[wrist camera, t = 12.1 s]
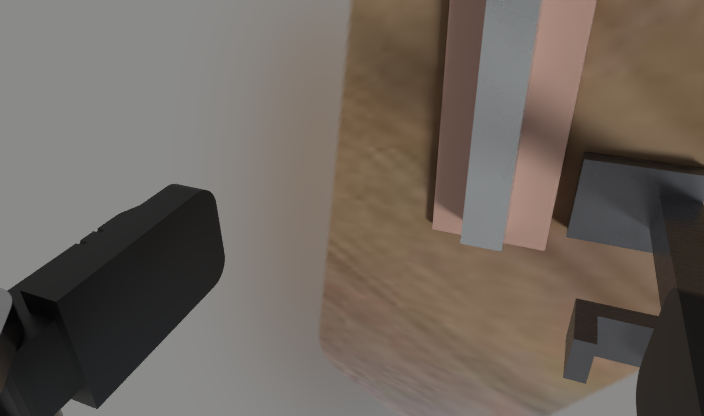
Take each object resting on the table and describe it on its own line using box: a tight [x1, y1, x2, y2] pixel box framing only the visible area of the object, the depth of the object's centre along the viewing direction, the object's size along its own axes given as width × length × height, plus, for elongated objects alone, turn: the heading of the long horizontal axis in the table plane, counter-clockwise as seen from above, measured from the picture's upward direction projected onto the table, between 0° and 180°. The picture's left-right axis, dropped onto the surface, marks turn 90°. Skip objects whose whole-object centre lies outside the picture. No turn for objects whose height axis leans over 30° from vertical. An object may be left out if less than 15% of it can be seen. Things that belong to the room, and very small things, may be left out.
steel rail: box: [460, 0, 544, 252], centre depth 26 cm, size 24×2×2 cm, turn 1°
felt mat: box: [432, 0, 597, 251], centre depth 27 cm, size 26×7×1 cm, turn 1°
